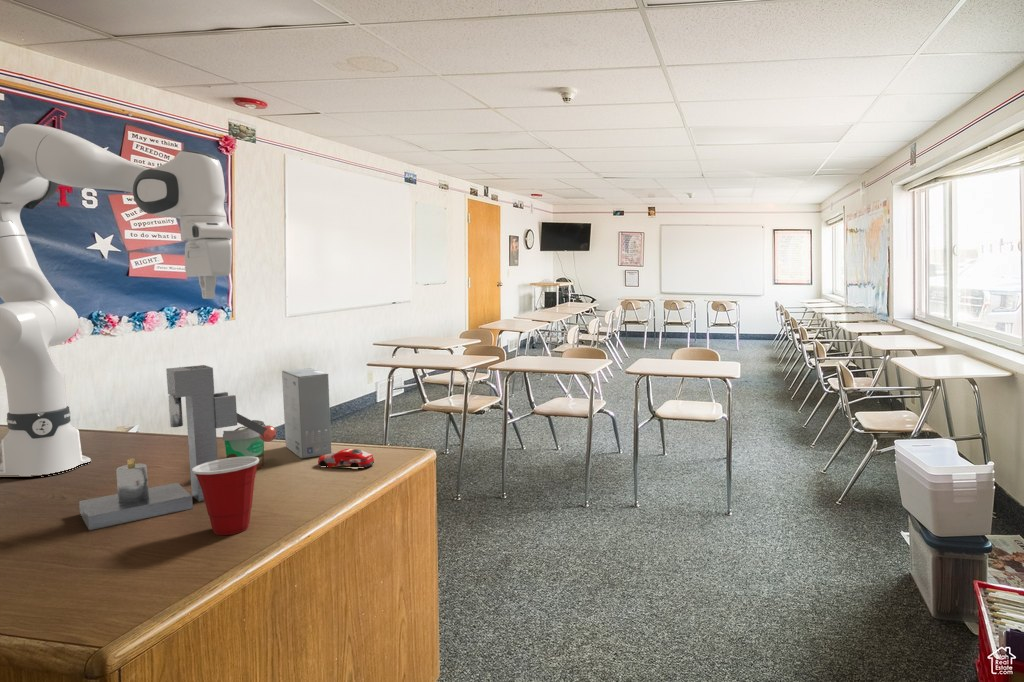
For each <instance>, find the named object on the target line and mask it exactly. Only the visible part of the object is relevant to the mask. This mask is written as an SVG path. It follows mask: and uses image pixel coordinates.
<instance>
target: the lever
mask: <svg viewBox="0 0 1024 682" xmlns="http://www.w3.org/2000/svg"><path fill="white" fill-rule="evenodd" d="M237 424H239V425H240V426H241V425H242V427H247V428H249V429H251V430H253V431H255V432H257V433H259V436H260V438H261V439H262V440H263V441H264V443H265V442H267V443H269V442H272V441H273V440H274V439H276V437H277V430H276V429H275V427H274V426H272V425H266V426H264V427H263V426H261V425H259V424H257V423H255V422H253V421H252V420H251V419H249V418H248V417H246V416H243V415H242V414H239V413H238V412H237Z"/></svg>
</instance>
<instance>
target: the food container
mask: <svg viewBox="0 0 1024 682" xmlns="http://www.w3.org/2000/svg"><path fill="white" fill-rule="evenodd" d="M251 421H253V422H255V423H257V424H259V425H261V426H263V427H264V426H267V425H266V424H265V422H264V421H262V420H258V419H252V420H251ZM222 432H223V433H222V441H224V447H225V455H226V456H225V457H226V458H234V457H258V458H259V463H258V465H257V468H256V472H257V471H258V470H259V471H260V470H262V469H263V468H264V462H265V461H264V458H265V441H263V440H262V439H261V438H260V436H259V433H257V432H255V431H253V430H251V429H249V428H247V427H245V426H239V427H237V428H236V429H233V430H223V431H222Z"/></svg>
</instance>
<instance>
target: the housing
mask: <svg viewBox="0 0 1024 682" xmlns="http://www.w3.org/2000/svg"><path fill="white" fill-rule="evenodd" d="M135 461H136V460H135V458H128V459H127V464H125V465H122V466H118V467H116V482H117V483H116V485H117V494H118V500H119V502H121V503H132V502H138V501H142V500H145V499H147V498H148V497H149V492H148V488H149V481H148V469H147V468H148V466H147V464H145V463H136V462H135Z"/></svg>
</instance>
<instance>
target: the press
mask: <svg viewBox="0 0 1024 682" xmlns="http://www.w3.org/2000/svg"><path fill="white" fill-rule="evenodd" d="M165 371H166V384H167V395H168V398H167V399H168V409H169V410H168V412H169V425H170V426H169V427H170V428H179V427H183V426H184V420H183V419H184V418H183V407H182V405H183V404H182V398H183V397H184V398H185V411H186V412H185V413H186V427H187V440H188V456H189V472H190V488H191V493H190V492H188V490H186V489H185V488H184V487H183V486H182V485H180V483H179V482H174V483H168V484H162V485H158V486H157V485H156V486H152V487H148V492H149V497H148V498H147V499H145V500H142V501H138V502H132V503H121V502H119V500H118V493H115V494H109V495H105V496H100V497H99V496H98V497H93V498H90V499H84V500H79V501H78V504H79V505H78V506H79V515H80V514H81V515H80V517H81V516H82V517H81V518H82V520H83V522H84V523H85V525H86V528H87V529H88V530H89V531H94V530H98V529H103V528H106V527H112V526H117V525H120V524H121V525H122V524H125V523H130V522H131V523H132V522H137V521H139V520H144V519H150V518H153V517H159V516H163V515H168V514H173V513H179V512H183V511H187V510H191V509H193V508H194V505H193V498H194V499H195V500H196V501H197V502H205V500H204V496H203V493H202V489H201V486H200V483H199V481H198V478H197V477H196V475H195V473H193V471H192V468H194V467H196V466H198V465H201V464H204V463H207V462H211V461H215V460H219V457H218V441H217V429H221V428H228V427H235V426H238V423H237V413H238V412H237V397H236V394H235V395H234V394H231V395H229V393H228V391H223V392H216V393H215V379H214V368H213V367H211V366H209V365H205V364H201V365H190V366H189V365H188V366H179V367H170V368H165Z"/></svg>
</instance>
